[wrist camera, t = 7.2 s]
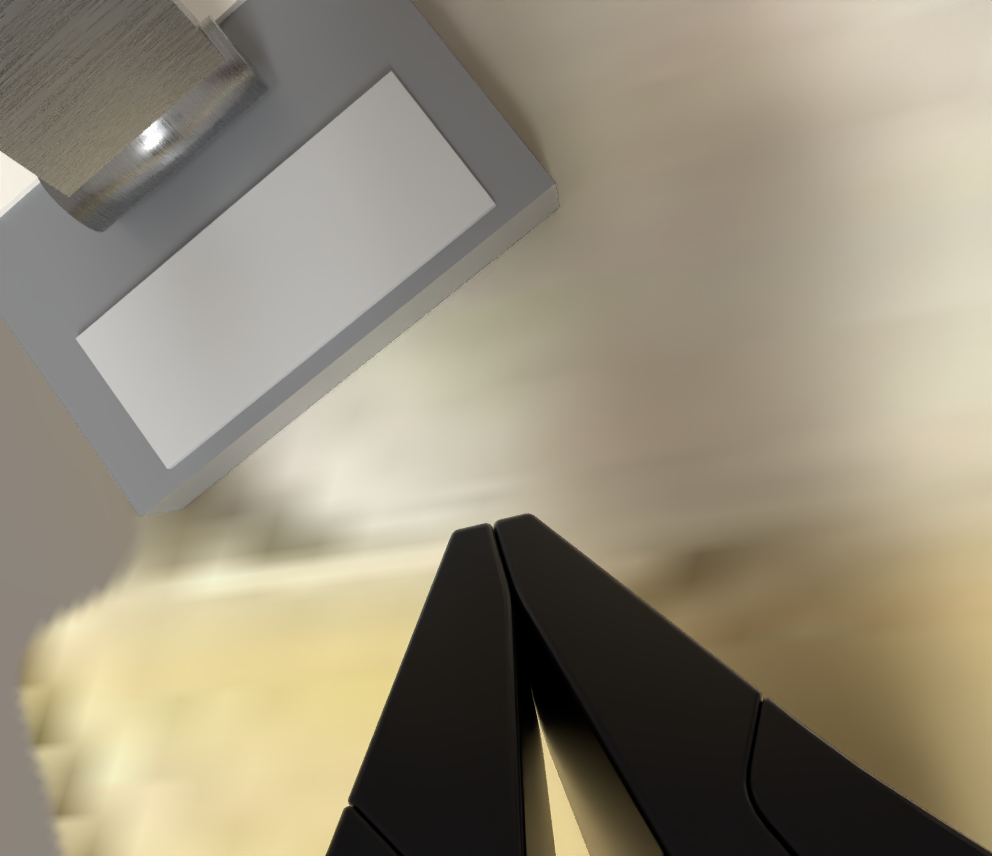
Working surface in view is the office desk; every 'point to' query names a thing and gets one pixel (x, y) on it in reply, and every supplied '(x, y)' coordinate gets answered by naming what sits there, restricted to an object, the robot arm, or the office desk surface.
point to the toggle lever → (114, 96)
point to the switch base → (268, 244)
